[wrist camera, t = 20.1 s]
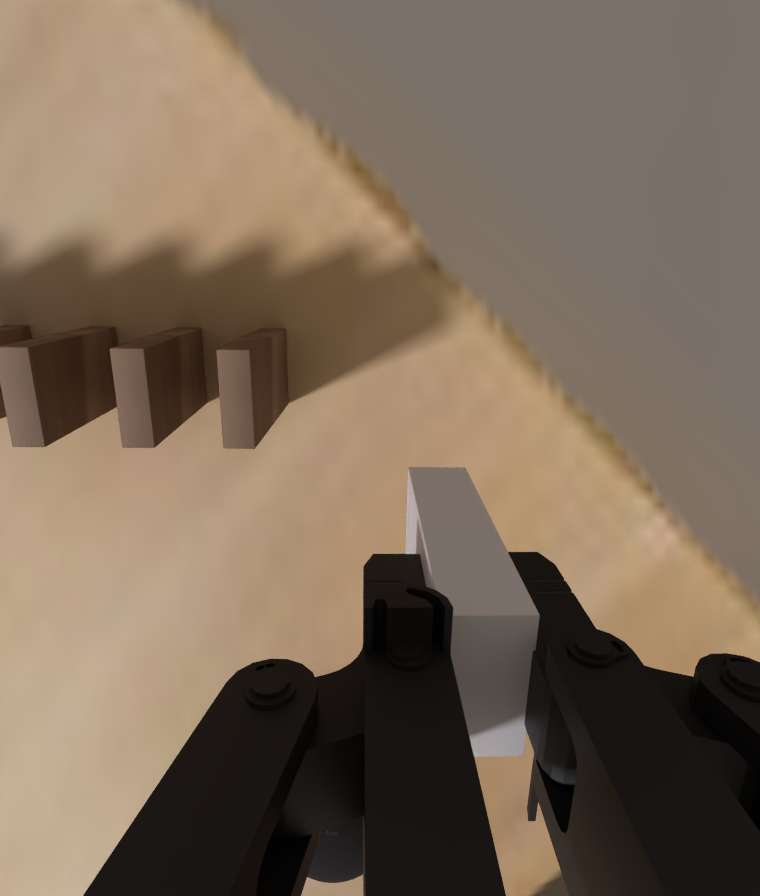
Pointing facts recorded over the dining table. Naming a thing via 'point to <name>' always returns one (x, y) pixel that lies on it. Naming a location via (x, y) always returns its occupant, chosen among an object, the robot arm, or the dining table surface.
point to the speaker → (339, 853)
